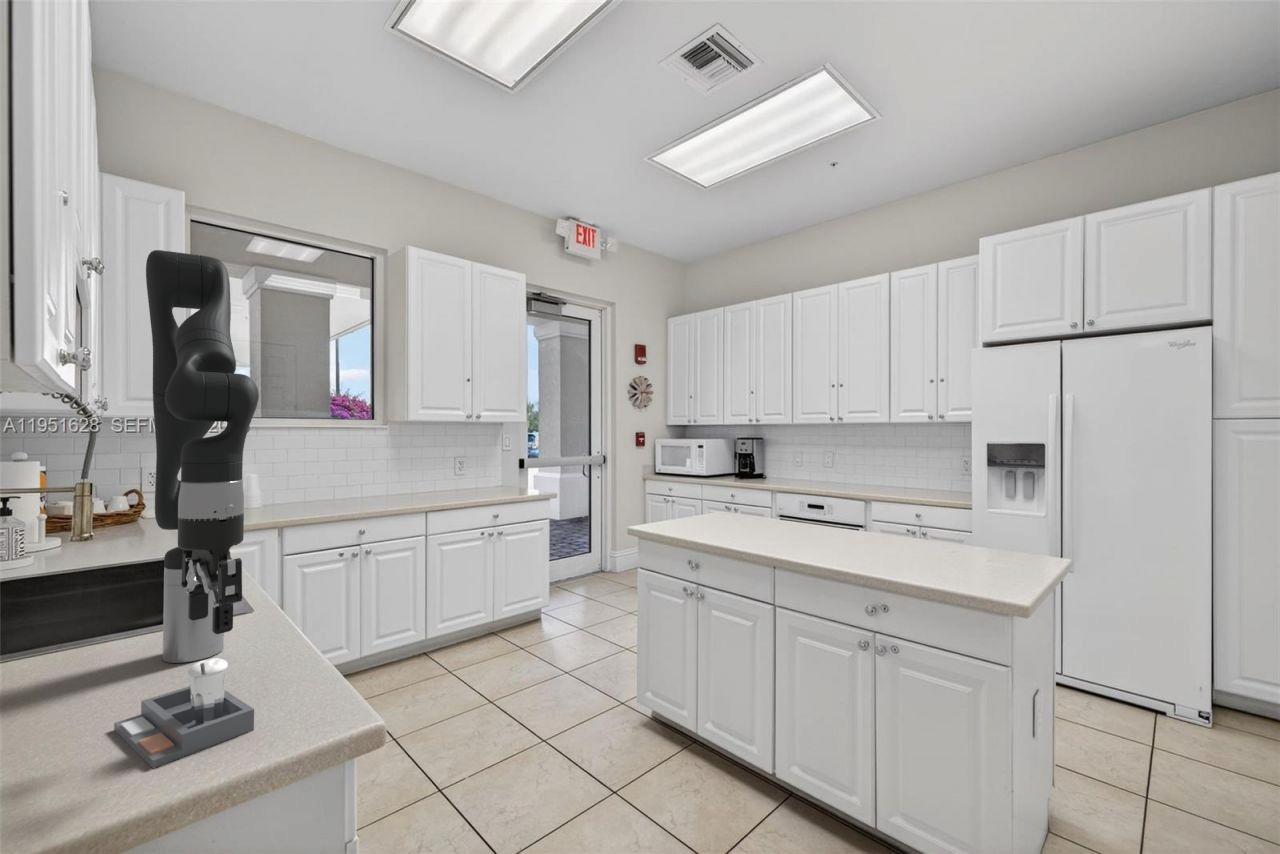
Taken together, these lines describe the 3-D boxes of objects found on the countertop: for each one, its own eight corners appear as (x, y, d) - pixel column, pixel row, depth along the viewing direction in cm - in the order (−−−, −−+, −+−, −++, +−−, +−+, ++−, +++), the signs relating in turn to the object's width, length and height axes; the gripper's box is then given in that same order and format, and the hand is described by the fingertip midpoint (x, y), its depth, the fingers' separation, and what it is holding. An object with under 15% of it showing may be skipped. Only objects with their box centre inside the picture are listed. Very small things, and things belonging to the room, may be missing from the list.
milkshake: (180, 739, 78) (181, 665, 78) (192, 720, 83) (193, 651, 83) (220, 732, 80) (221, 660, 80) (230, 714, 85) (231, 647, 85)
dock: (114, 729, 82) (114, 708, 82) (209, 699, 91) (209, 680, 91) (152, 768, 73) (153, 744, 73) (253, 729, 82) (254, 709, 82)
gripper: (160, 509, 82) (159, 622, 82) (200, 521, 74) (198, 645, 74) (221, 504, 88) (220, 608, 88) (264, 514, 80) (262, 629, 81)
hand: (210, 625), depth 81 cm, fingers open, 8 cm apart
